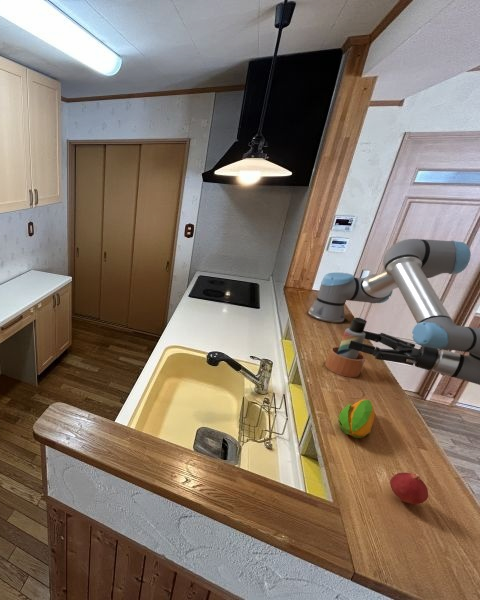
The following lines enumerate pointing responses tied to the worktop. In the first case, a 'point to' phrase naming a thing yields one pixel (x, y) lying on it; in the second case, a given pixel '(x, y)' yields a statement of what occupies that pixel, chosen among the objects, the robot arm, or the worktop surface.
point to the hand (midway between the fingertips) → (351, 337)
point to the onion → (409, 488)
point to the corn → (357, 418)
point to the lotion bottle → (352, 338)
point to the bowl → (344, 363)
